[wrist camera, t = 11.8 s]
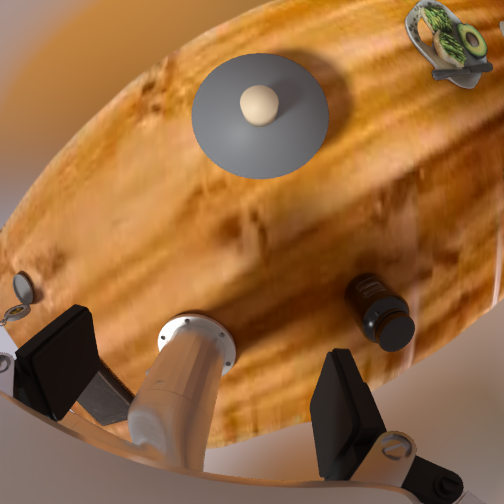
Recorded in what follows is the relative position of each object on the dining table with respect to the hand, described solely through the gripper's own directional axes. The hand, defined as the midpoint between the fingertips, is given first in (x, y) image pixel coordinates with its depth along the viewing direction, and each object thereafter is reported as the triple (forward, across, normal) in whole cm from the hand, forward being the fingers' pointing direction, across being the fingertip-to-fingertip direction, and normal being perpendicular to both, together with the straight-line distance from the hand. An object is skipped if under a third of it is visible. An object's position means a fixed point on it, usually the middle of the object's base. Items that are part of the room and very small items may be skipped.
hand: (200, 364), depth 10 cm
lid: (+23, 0, -14) cm, 27 cm away
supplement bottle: (+28, -18, +7) cm, 35 cm away
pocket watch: (+28, +44, +18) cm, 55 cm away
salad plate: (+29, -30, -38) cm, 56 cm away
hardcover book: (+29, +30, +36) cm, 55 cm away
